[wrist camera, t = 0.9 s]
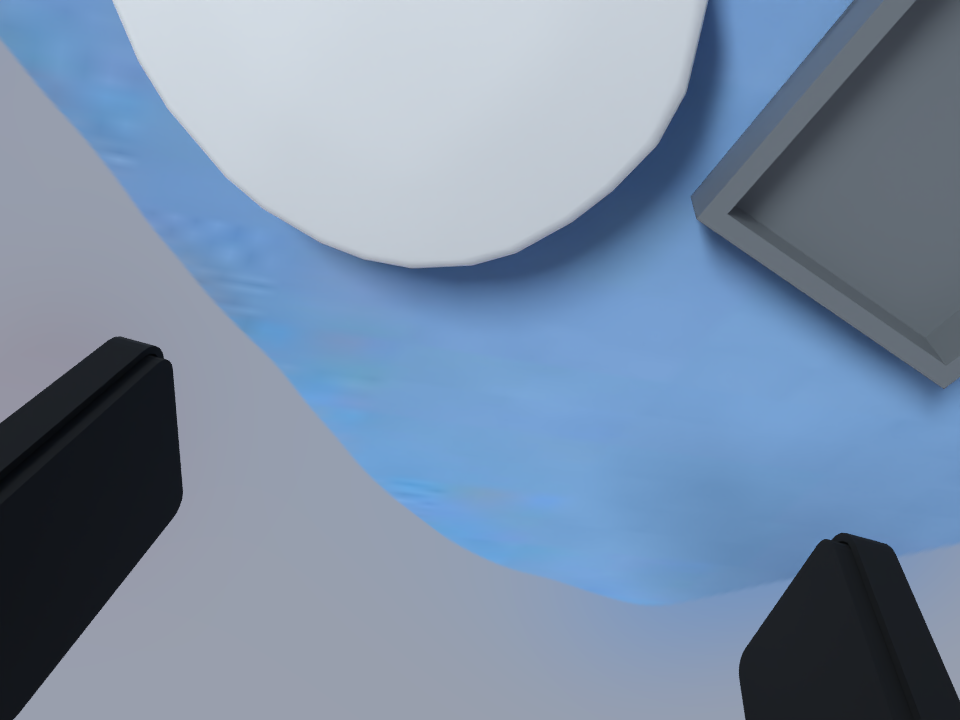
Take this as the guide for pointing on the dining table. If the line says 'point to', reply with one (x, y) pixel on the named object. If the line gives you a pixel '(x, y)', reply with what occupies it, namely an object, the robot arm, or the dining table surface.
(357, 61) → the plate
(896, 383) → the dining table surface
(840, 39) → the tray
